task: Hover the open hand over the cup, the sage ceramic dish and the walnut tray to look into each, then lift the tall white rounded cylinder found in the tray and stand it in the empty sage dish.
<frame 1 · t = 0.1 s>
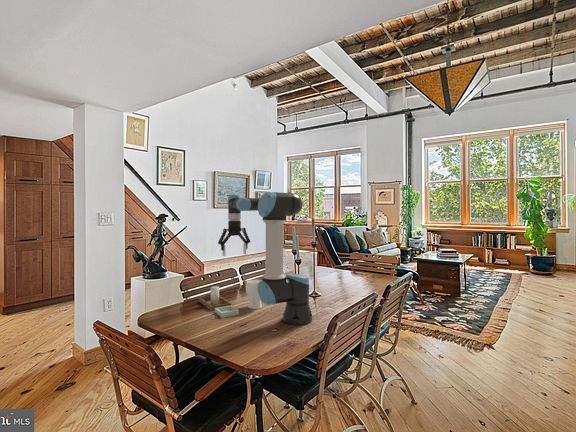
hand: (234, 255, 206), 28 cm above the table, tool pointing down, fingers open, 13 cm apart
white rounded cylinder: (214, 304, 197), resting on tray
cup: (255, 307, 193), on the table
dish: (226, 313, 182), on the table
tray: (214, 305, 197), on the table
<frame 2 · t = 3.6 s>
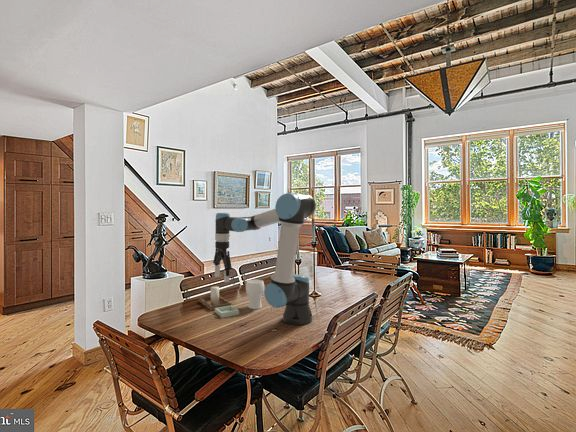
hand: (221, 279, 186), 18 cm above the table, tool pointing down, fingers open, 13 cm apart
nothing on the table moved.
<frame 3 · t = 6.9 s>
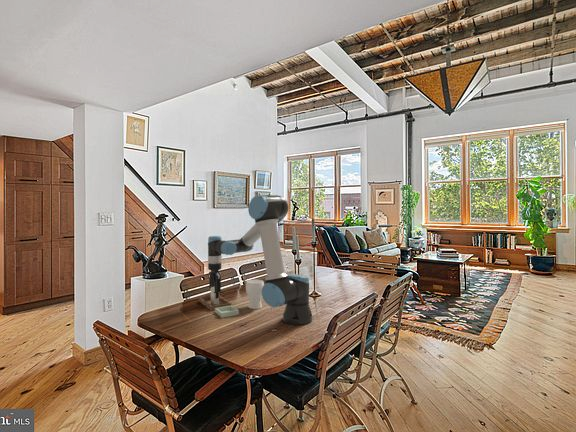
hand: (214, 302, 197), 2 cm above the table, tool pointing down, fingers closed on white rounded cylinder, 5 cm apart
white rounded cylinder: (214, 304, 197), point 1 cm above the table, touching gripper, tray
everything else where it was.
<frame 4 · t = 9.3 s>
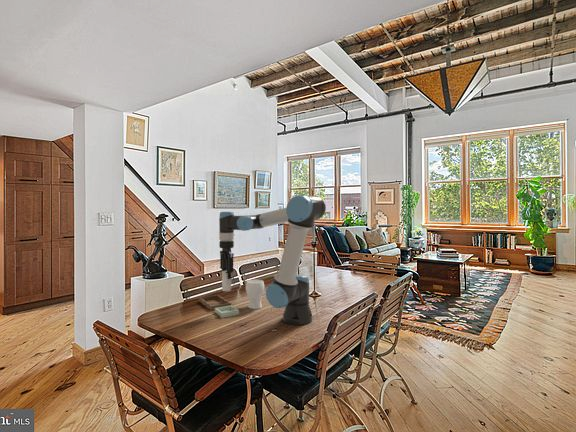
hand: (226, 283, 181), 16 cm above the table, tool pointing down, fingers closed on white rounded cylinder, 5 cm apart
white rounded cylinder: (226, 290, 181), point 13 cm above the table, touching gripper
everything else where it was.
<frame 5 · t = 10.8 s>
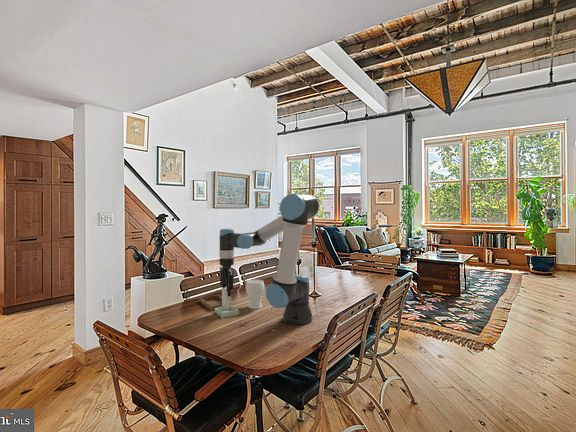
hand: (226, 300, 181), 7 cm above the table, tool pointing down, fingers closed on white rounded cylinder, 5 cm apart
white rounded cylinder: (226, 307, 181), point 3 cm above the table, touching gripper
everything else where it was.
when the fingers open (4 cm above the table, at t = 11.8 s): white rounded cylinder stays where it is, resting on dish.
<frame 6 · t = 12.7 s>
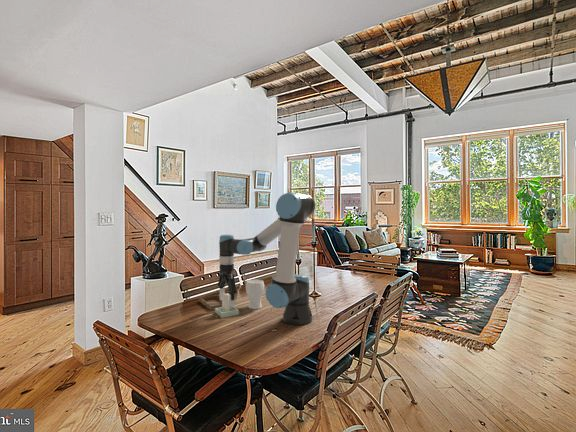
hand: (226, 302, 181), 6 cm above the table, tool pointing down, fingers open, 13 cm apart
white rounded cylinder: (226, 312, 182), resting on dish
everything else where it was.
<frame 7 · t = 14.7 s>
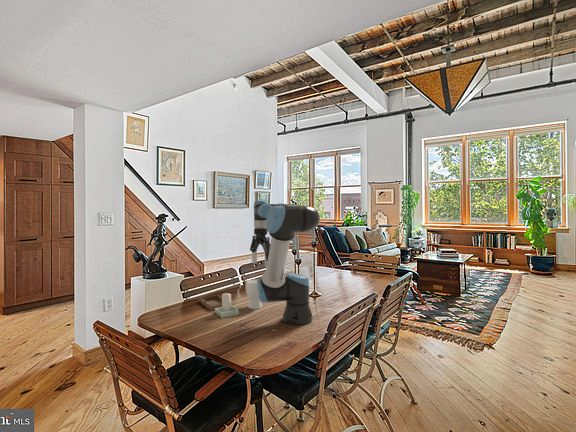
hand: (260, 264, 193), 24 cm above the table, tool pointing down, fingers open, 13 cm apart
nothing on the table moved.
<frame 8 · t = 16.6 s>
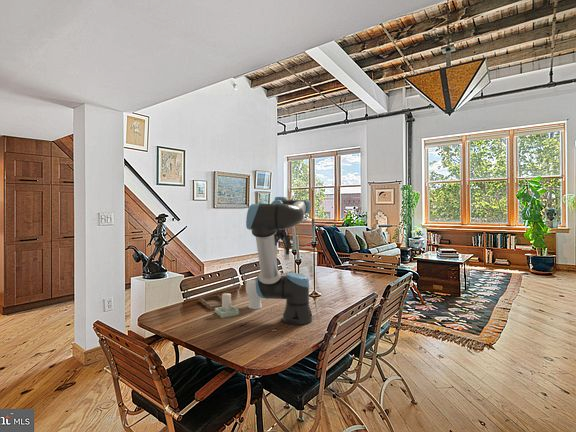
hand: (280, 258, 201), 27 cm above the table, tool pointing down, fingers open, 13 cm apart
nothing on the table moved.
at the end: white rounded cylinder inside the target area on the dish (0.1 cm from its centre), point 0.5 cm above the dish's base; white rounded cylinder tilted 0°; the gripper is holding nothing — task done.
